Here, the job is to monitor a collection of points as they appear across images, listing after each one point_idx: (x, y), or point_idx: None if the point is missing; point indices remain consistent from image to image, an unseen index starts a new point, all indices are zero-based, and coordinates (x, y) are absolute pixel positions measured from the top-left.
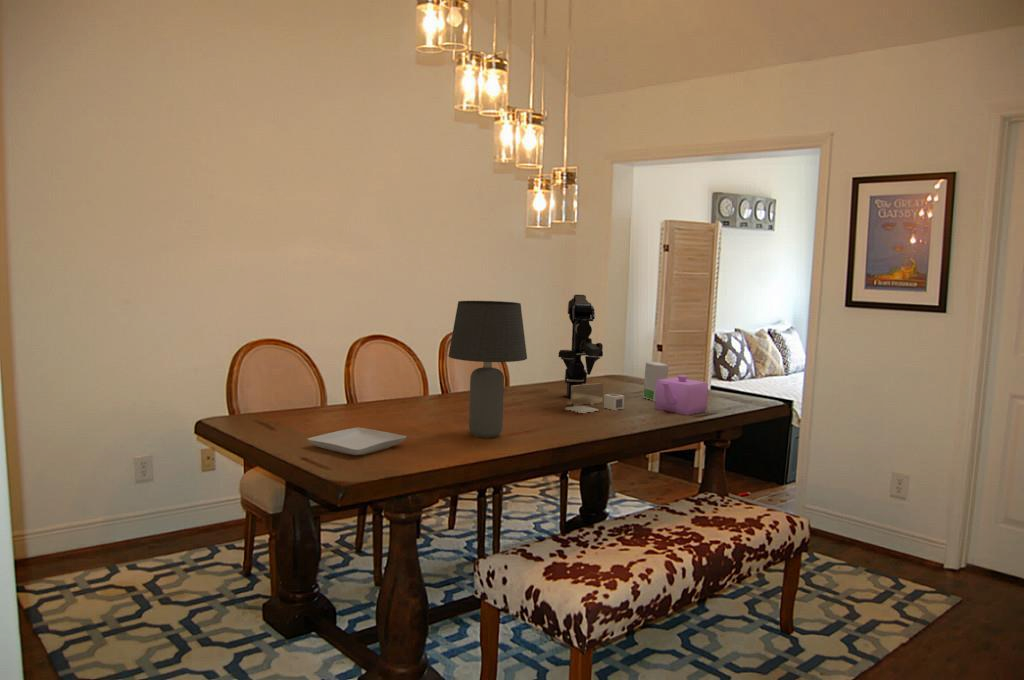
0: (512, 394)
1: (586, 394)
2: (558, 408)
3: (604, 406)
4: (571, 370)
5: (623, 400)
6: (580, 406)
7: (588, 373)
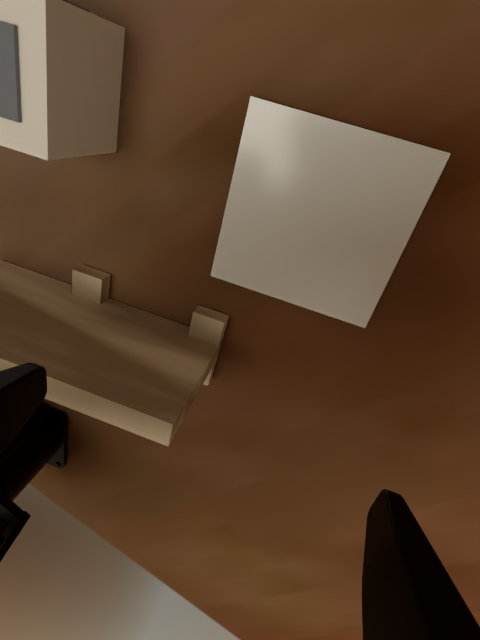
0: (207, 606)
1: (84, 332)
2: (357, 370)
3: (109, 146)
4: (466, 608)
5: None
6: (252, 272)
7: (35, 388)
